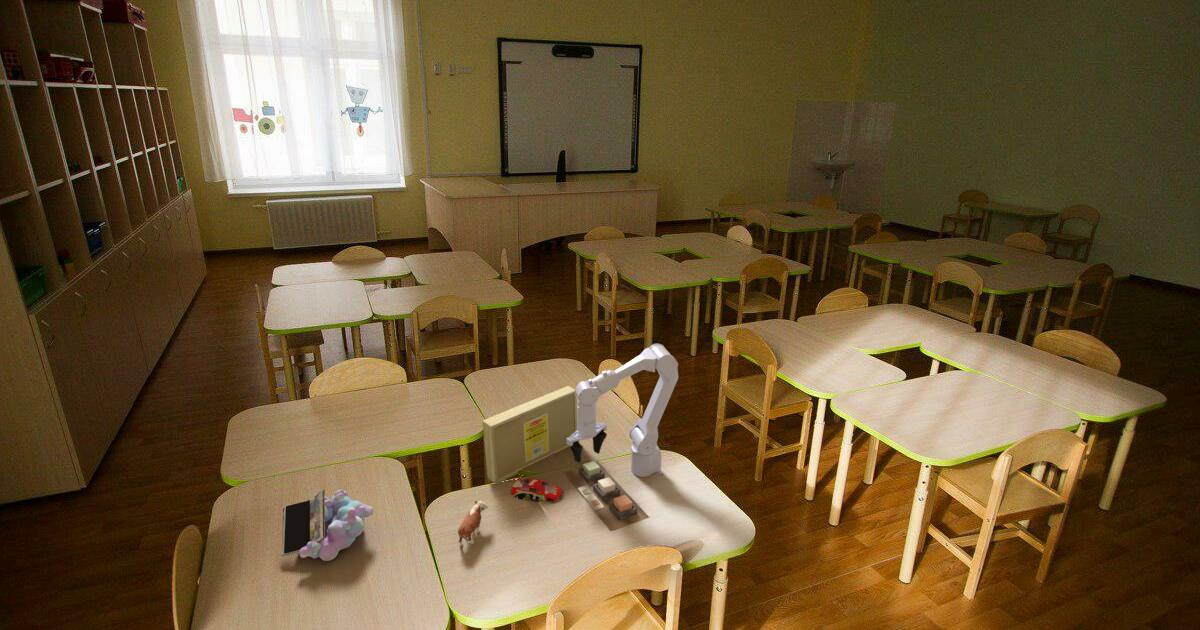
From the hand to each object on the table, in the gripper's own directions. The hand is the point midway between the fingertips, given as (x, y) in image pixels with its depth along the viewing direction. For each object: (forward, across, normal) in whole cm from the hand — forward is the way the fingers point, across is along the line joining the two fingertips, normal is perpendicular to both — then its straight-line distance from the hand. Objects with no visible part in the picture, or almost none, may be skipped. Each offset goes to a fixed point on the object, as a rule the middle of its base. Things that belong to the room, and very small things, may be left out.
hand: (587, 456), depth 200 cm
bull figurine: (+9, +41, -1) cm, 42 cm away
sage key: (+7, -2, -1) cm, 7 cm away
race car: (+10, +16, -4) cm, 20 cm away
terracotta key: (+7, +2, +19) cm, 20 cm away
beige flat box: (+10, +7, -20) cm, 24 cm away
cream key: (+7, 0, +9) cm, 12 cm away
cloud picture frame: (+9, +73, -23) cm, 77 cm away
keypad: (+9, +1, +9) cm, 13 cm away
